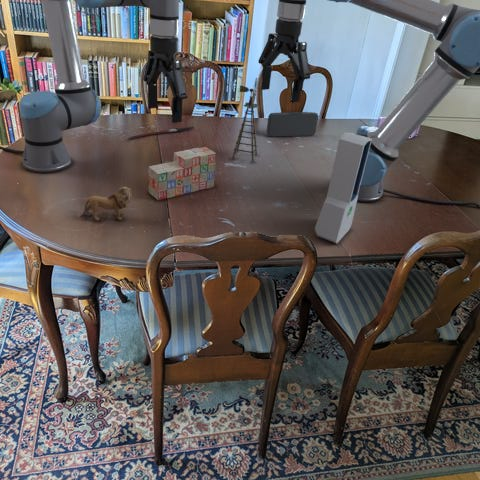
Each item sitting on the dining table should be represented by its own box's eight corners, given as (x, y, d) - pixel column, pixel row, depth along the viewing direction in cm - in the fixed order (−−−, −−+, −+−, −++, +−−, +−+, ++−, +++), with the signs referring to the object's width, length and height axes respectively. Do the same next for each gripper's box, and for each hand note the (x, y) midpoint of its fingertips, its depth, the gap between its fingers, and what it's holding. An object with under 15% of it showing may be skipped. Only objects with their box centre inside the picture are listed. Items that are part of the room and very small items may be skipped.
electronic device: (336, 245, 132) (360, 146, 116) (312, 236, 135) (332, 138, 119) (351, 228, 141) (376, 133, 125) (328, 220, 144) (350, 126, 128)
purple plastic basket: (384, 139, 212) (388, 124, 209) (370, 129, 222) (373, 115, 218) (420, 137, 219) (425, 123, 215) (404, 128, 228) (409, 114, 225)
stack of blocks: (158, 201, 145) (157, 164, 138) (148, 192, 149) (147, 157, 142) (214, 186, 157) (216, 152, 150) (203, 179, 161) (205, 145, 154)
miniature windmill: (253, 162, 176) (262, 82, 160) (231, 159, 177) (238, 78, 161) (257, 154, 184) (266, 76, 168) (236, 150, 185) (243, 72, 169)
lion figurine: (131, 210, 139) (130, 182, 134) (134, 219, 134) (133, 191, 130) (79, 214, 134) (76, 186, 129) (80, 224, 129) (77, 195, 125)
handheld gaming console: (312, 133, 210) (316, 111, 205) (315, 135, 208) (319, 113, 203) (265, 134, 203) (268, 112, 198) (267, 137, 201) (270, 114, 196)
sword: (190, 126, 202) (190, 124, 201) (194, 129, 200) (194, 126, 199) (124, 139, 186) (124, 136, 186) (127, 141, 184) (127, 139, 184)
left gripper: (202, 44, 118) (199, 126, 129) (153, 27, 133) (154, 101, 145) (176, 46, 113) (175, 130, 125) (129, 27, 129) (132, 104, 141)
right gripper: (331, 27, 125) (317, 105, 137) (271, 11, 141) (262, 83, 152) (312, 28, 121) (299, 108, 132) (251, 12, 137) (244, 85, 148)
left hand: (164, 114), depth 135 cm, fingers open, 13 cm apart
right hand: (279, 95), depth 142 cm, fingers open, 13 cm apart
